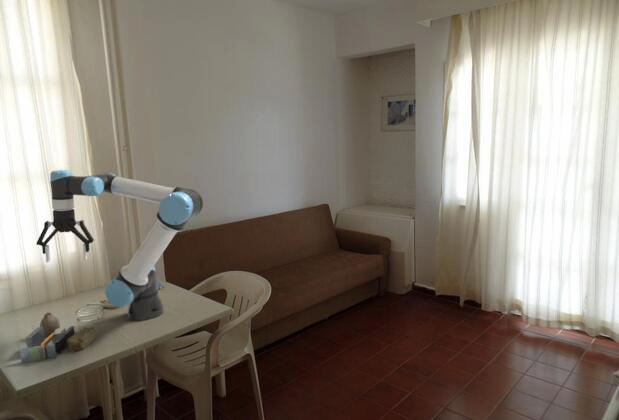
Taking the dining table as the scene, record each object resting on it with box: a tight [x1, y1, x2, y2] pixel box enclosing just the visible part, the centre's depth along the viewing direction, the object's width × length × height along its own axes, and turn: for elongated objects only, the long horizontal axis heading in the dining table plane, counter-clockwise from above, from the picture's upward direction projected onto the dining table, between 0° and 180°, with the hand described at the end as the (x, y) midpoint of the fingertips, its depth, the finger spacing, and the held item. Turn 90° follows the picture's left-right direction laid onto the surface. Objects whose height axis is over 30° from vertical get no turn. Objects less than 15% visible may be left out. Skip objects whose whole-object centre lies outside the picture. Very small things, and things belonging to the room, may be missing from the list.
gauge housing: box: [18, 326, 58, 363], centre depth 159 cm, size 12×14×7 cm
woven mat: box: [157, 282, 165, 291], centre depth 224 cm, size 10×11×2 cm
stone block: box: [67, 326, 97, 352], centre depth 163 cm, size 6×12×5 cm, turn 0°
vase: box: [39, 312, 61, 337], centre depth 174 cm, size 7×7×9 cm
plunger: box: [41, 325, 76, 358], centre depth 160 cm, size 4×18×6 cm, turn 8°
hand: (67, 260), depth 175 cm, fingers open, 13 cm apart
